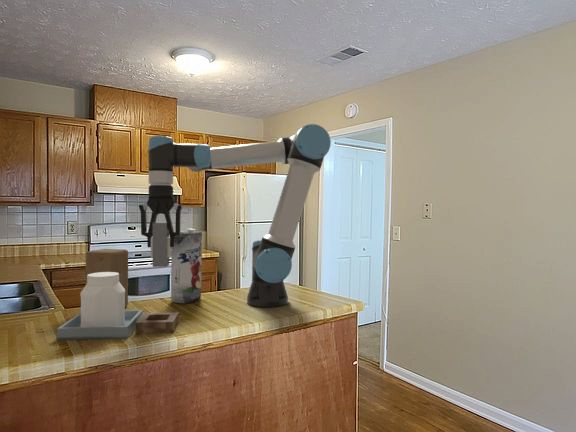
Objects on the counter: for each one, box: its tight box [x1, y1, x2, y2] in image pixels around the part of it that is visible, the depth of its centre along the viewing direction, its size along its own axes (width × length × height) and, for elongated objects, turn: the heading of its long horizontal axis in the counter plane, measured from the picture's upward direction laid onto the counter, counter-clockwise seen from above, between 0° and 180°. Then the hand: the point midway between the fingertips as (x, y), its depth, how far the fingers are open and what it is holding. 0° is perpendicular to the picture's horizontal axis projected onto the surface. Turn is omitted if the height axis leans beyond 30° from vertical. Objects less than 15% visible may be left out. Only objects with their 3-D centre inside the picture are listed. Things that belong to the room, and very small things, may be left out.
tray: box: [56, 309, 144, 341], centre depth 114 cm, size 18×18×3 cm
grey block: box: [152, 221, 170, 268], centre depth 129 cm, size 4×4×14 cm
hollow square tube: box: [135, 312, 179, 334], centre depth 116 cm, size 10×10×3 cm
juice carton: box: [170, 228, 203, 305], centre depth 149 cm, size 9×10×27 cm
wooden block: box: [85, 248, 129, 307], centre depth 135 cm, size 10×10×20 cm
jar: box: [80, 272, 126, 327], centre depth 114 cm, size 12×10×15 cm
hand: (161, 257), depth 129 cm, fingers closed on grey block, 4 cm apart
